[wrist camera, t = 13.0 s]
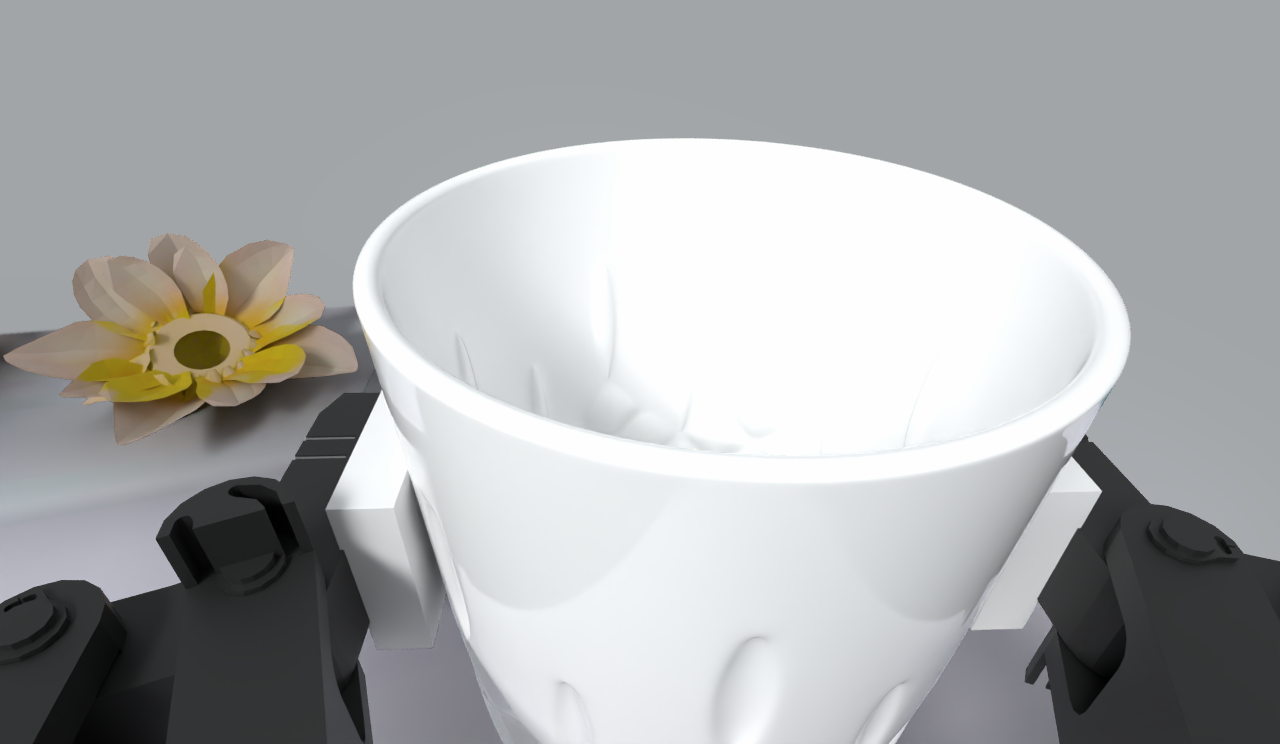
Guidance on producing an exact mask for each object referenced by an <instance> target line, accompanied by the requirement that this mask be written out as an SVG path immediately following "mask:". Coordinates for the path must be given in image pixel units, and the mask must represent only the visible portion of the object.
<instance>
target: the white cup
mask: <svg viewBox="0 0 1280 744" xmlns="http://www.w3.org/2000/svg"><path fill="white" fill-rule="evenodd" d="M353 298H354V303H355V308H356V311H357V315H358V318H359V321H360V324H361V327H362V330H363V333H364V336H365V339H366V342H367V345H368V348H369V351H370V354H371V357H372V360H373V364H374V367H375V370H376V373H377V376H378V379H379V382H380V385H381V388H382V391H383V394H384V397H385V400H386V404H387V407H388V410H389V413H390V416H391V419H392V422H393V425H394V428H395V431H396V434H397V438H398V441H399V444H400V447H401V450H402V453H403V456H404V459H405V463H406V466H407V469H408V472H409V475H410V478H411V482H412V485H413V488H414V491H415V494H416V497H417V501H418V504H419V507H420V510H421V513H422V517H423V520H424V523H425V526H426V529H427V533H428V536H429V539H430V542H431V545H432V549H433V552H434V555H435V558H436V561H437V565H438V568H439V571H440V574H441V577H442V581H443V584H444V587H445V590H446V594H447V597H448V600H449V603H450V606H451V609H452V612H453V615H454V618H455V621H456V623H457V626H458V628H459V631H460V633H461V636H462V639H463V641H464V644H465V646H466V649H467V652H468V654H469V657H470V659H471V662H472V664H473V668H474V672H475V676H476V679H477V683H478V685H479V688H480V690H481V693H482V696H483V698H484V701H485V704H486V706H487V709H488V711H489V714H490V716H491V718H492V721H493V723H494V725H495V728H496V730H497V732H498V734H499V736H500V738H501V741H502V743H503V744H895V743H896V742H897V740H898V739H899V737H900V736H901V734H902V733H903V731H904V729H905V728H906V726H907V724H908V723H909V721H910V719H911V718H912V716H913V715H914V714H915V712H916V711H917V709H918V707H919V706H920V705H921V703H922V702H923V701H924V699H925V698H926V696H927V695H928V694H929V692H930V691H931V689H932V688H933V686H934V685H935V683H936V682H937V680H938V679H939V677H940V676H941V674H942V673H943V671H944V670H945V668H946V667H947V665H948V664H949V662H950V660H951V659H952V657H953V655H954V654H955V652H956V650H957V649H958V647H959V645H960V644H961V642H962V640H963V638H964V637H965V635H966V633H967V631H968V630H969V628H970V626H971V625H972V623H973V621H974V620H975V618H976V616H977V615H978V613H979V611H980V609H981V608H982V606H983V604H984V603H985V601H986V599H987V598H988V596H989V594H990V593H991V591H992V589H993V588H994V586H995V584H996V582H997V581H998V579H999V577H1000V576H1001V574H1002V572H1003V571H1004V569H1005V567H1006V566H1007V564H1008V562H1009V560H1010V559H1011V557H1012V555H1013V554H1014V552H1015V550H1016V549H1017V547H1018V545H1019V544H1020V542H1021V540H1022V538H1023V537H1024V535H1025V533H1026V532H1027V530H1028V528H1029V527H1030V525H1031V523H1032V522H1033V520H1034V518H1035V516H1036V515H1037V513H1038V511H1039V510H1040V508H1041V506H1042V505H1043V503H1044V501H1045V500H1046V498H1047V496H1048V495H1049V493H1050V491H1051V490H1052V488H1053V486H1054V485H1055V483H1056V481H1057V480H1058V478H1059V476H1060V475H1061V473H1062V471H1063V470H1064V468H1065V466H1066V465H1067V463H1068V461H1069V460H1070V458H1071V456H1072V455H1073V453H1074V451H1075V450H1076V448H1077V446H1078V445H1079V443H1080V442H1081V440H1082V438H1083V437H1084V435H1085V433H1086V431H1087V430H1088V428H1089V427H1090V425H1091V423H1092V422H1093V420H1094V418H1095V417H1096V415H1097V413H1098V412H1099V410H1100V408H1101V407H1102V405H1103V404H1104V402H1105V400H1106V399H1107V397H1108V395H1109V394H1110V392H1111V390H1112V389H1113V387H1114V386H1115V384H1116V382H1117V381H1118V379H1119V377H1120V375H1121V373H1122V371H1123V369H1124V367H1125V364H1126V361H1127V358H1128V354H1129V349H1130V342H1131V328H1130V321H1129V317H1128V313H1127V310H1126V307H1125V305H1124V302H1123V300H1122V298H1121V296H1120V294H1119V292H1118V291H1117V289H1116V287H1115V286H1114V284H1113V283H1112V281H1111V280H1110V278H1109V277H1108V276H1107V275H1106V273H1105V272H1104V271H1103V270H1102V269H1101V268H1100V266H1098V264H1097V263H1096V262H1095V261H1094V260H1093V259H1092V258H1091V257H1090V256H1089V255H1088V254H1086V253H1085V252H1084V251H1083V250H1082V249H1081V248H1080V247H1078V246H1077V245H1076V244H1074V243H1073V242H1072V241H1071V240H1069V239H1068V238H1067V237H1065V236H1064V235H1063V234H1061V233H1059V232H1058V231H1057V230H1055V229H1053V228H1052V227H1050V226H1049V225H1047V224H1046V223H1044V222H1042V221H1041V220H1039V219H1037V218H1035V217H1034V216H1032V215H1030V214H1028V213H1026V212H1025V211H1023V210H1021V209H1019V208H1017V207H1015V206H1013V205H1011V204H1009V203H1007V202H1004V201H1002V200H1000V199H998V198H996V197H993V196H991V195H989V194H986V193H984V192H981V191H979V190H976V189H974V188H971V187H969V186H966V185H963V184H960V183H958V182H955V181H952V180H949V179H946V178H943V177H940V176H937V175H933V174H930V173H927V172H924V171H920V170H917V169H913V168H909V167H905V166H902V165H898V164H894V163H890V162H886V161H882V160H877V159H873V158H868V157H863V156H858V155H853V154H848V153H842V152H837V151H831V150H825V149H819V148H811V147H805V146H796V145H788V144H780V143H771V142H759V141H745V140H730V139H701V138H698V139H697V138H693V139H692V138H672V139H671V138H670V139H669V138H668V139H641V140H625V141H612V142H602V143H593V144H585V145H578V146H570V147H564V148H557V149H552V150H546V151H541V152H536V153H531V154H527V155H523V156H519V157H514V158H510V159H506V160H503V161H500V162H496V163H492V164H489V165H486V166H483V167H480V168H477V169H474V170H471V171H469V172H466V173H463V174H461V175H458V176H455V177H453V178H451V179H448V180H446V181H444V182H442V183H440V184H438V185H436V186H434V187H432V188H430V189H428V190H426V191H424V192H423V193H421V194H419V195H417V196H416V197H414V198H412V199H411V200H409V201H408V202H406V203H405V204H403V205H402V206H401V207H399V208H398V209H397V210H396V211H394V212H393V213H392V214H391V215H390V216H388V217H387V218H386V219H385V220H384V221H383V222H382V223H381V224H380V225H379V226H378V227H377V228H376V229H375V231H374V232H373V233H372V234H371V236H370V237H369V238H368V240H367V242H366V243H365V245H364V246H363V249H362V250H361V252H360V254H359V257H358V259H357V262H356V265H355V269H354V275H353Z"/></svg>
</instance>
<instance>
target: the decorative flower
mask: <svg viewBox="0 0 1280 744" xmlns="http://www.w3.org/2000/svg"><path fill="white" fill-rule="evenodd" d="M148 257H149V261H150V263H149V262H147V261H144V260H140V259H137V258H134V257H125V256H119V257H116V258H112V257H111V256H105V257H100V258H95V259H89V260H87V261H86V262H84V263H83V264H82V265H81V266H80V267H79V268H77V269H76V270H75V274H74V277H73V290H74V296H75V298H76V300H77V302H78V304H79V306H80V308H81V309H82V310H83V311H84V312H85V313H86V314H87V315H88V316H89V317H90V318H91V319H92V321H82V322H75V323H73V324H70V325H68V326H66V327H64V328H61V329H59V330H57V331H54V332H52V333H50V334H48V335H45V336H43V337H41V338H39V339H36V340H34V341H32V342H30V343H27V344H25V345H23V346H21V347H19V348H16V349H15V350H13V351H11V352H10V353H8V354H6V355H4V356H3V357H4V359H5V361H6V362H8V363H10V364H12V365H14V366H15V367H17V368H19V369H21V370H23V371H26V372H31V373H35V374H39V375H43V376H48V377H54V378H61V379H68V380H74V381H72V382H71V383H70V384H69V385H68V386H67V387H66V388H65V389H64V390H63V391H62V393H61V394H59V395H60V396H62V397H73V398H85V397H88V398H87V400H86V401H85V402H84V403H83V404H82V405H88V404H92V403H96V402H101V401H106V400H109V401H111V402H114V428H115V438H116V441H117V445H125V444H129V443H131V442H134V441H136V440H139V439H141V438H144V437H146V436H149V435H151V434H153V433H155V432H157V431H159V430H161V429H163V428H165V427H167V426H168V425H170V424H172V423H173V422H175V421H177V420H179V419H180V418H182V417H184V416H185V415H187V414H189V413H191V412H193V411H195V410H196V409H198V408H199V407H200V406H201V405H202V404H203V403H205V402H207V403H209V404H210V405H212V406H224V407H226V406H237V405H239V404H241V403H243V402H246V401H248V400H250V399H252V398H254V397H255V396H257V395H258V394H260V393H261V392H262V390H263V389H264V388H265V387H266V383H279V382H281V381H283V380H286V379H295V378H307V377H320V376H329V375H336V374H344V373H351V372H355V371H357V368H358V362H357V359H356V356H355V353H354V350H353V347H352V345H350V344H349V343H348V342H347V341H346V340H345V339H344V338H343V337H342V336H341V335H340V334H338V333H335V332H333V331H331V330H329V329H327V328H325V327H323V326H320V325H309V324H310V323H312V322H314V321H316V320H317V319H319V318H321V315H322V313H323V311H324V308H325V305H324V303H323V302H322V300H321V299H320V297H318V296H315V295H312V294H295V295H289V296H287V297H286V294H287V289H288V284H289V279H290V275H291V269H292V264H293V257H294V248H293V247H291V246H289V245H287V244H284V243H279V242H275V241H269V240H264V241H260V242H256V243H251V244H248V245H246V246H244V247H242V248H240V249H238V250H237V251H235V252H233V253H231V254H229V255H227V256H226V258H225V259H224V260H223V262H221V264H220V265H219V266H218V265H217V263H216V261H215V260H213V258H212V257H211V256H210V255H209V254H208V252H206V251H205V250H204V249H203V248H201V246H200V245H199V244H198V243H196V242H194V241H193V240H191V239H189V238H188V237H186V236H181V235H175V234H169V233H167V234H164V235H161V236H158V237H155V238H152V239H151V241H150V248H149V253H148ZM82 405H81V406H82Z"/></svg>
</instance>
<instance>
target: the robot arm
mask: <svg viewBox="0 0 1280 744" xmlns="http://www.w3.org/2000/svg"><path fill="white" fill-rule="evenodd" d="M306 437H307V440H306V441H303V443H302V445H301V446H300V448H299V450H298V452H297V453H296V455H295V456H296V459H295V460H292V462H291V464H290V465H289V467H288V469H287V471H286V472H285V474H284V476H283V477H282V479H281V481H280V482H279V481H277V480H275V479H270V478H262V477H248V478H240V479H233V480H229V481H226V482H223V483H220V484H218V485H215V486H212V487H209V488H207V489H204V490H203V491H201V492H199V493H198V494H196V495H194V496H193V497H191V498H189V499H188V500H186V501H185V502H183V503H181V504H180V505H179V506H178V507H177V508H176V509H175V510H174V511H173V512H172V513H171V514H170V515H169V516H168V517H167V518H166V519H165V520H164V522H163V524H162V526H161V528H160V530H159V532H158V535H157V537H156V541H157V542H158V544H159V546H160V547H161V549H162V551H163V552H164V554H165V556H166V557H167V559H168V561H169V562H170V564H171V566H172V567H173V569H174V571H175V572H176V574H177V576H178V577H179V579H180V581H181V583H178V584H175V585H172V586H169V587H165V588H162V589H158V590H154V591H150V592H147V593H143V594H139V595H136V596H132V597H128V598H125V599H121V600H117V601H114V602H110V601H109V600H108V598H107V597H106V596H105V594H104V593H103V591H102V590H101V589H100V588H99V587H97V586H95V585H93V584H91V583H89V582H87V581H85V580H60V581H56V582H53V583H49V584H45V585H41V586H37V587H33V588H31V589H29V590H27V591H25V592H23V593H21V594H18V595H16V596H14V597H12V598H10V599H8V600H6V601H4V602H2V603H1V604H0V744H373V739H372V731H371V723H370V715H369V707H368V698H367V690H366V682H365V675H364V672H363V670H362V667H361V665H360V662H359V660H358V657H359V654H360V651H361V648H362V645H363V642H364V639H365V636H366V633H367V630H368V627H369V629H370V632H371V635H372V637H373V640H374V643H375V645H376V648H377V650H392V649H422V648H433V647H434V643H435V639H436V635H437V630H438V626H439V622H440V618H441V613H442V609H443V605H444V600H445V596H446V590H445V587H444V584H443V581H442V577H441V574H440V571H439V568H438V565H437V561H436V558H435V555H434V552H433V549H432V545H431V542H430V539H429V536H428V533H427V529H426V526H425V523H424V520H423V517H422V513H421V510H420V507H419V504H418V501H417V497H416V494H415V491H414V488H413V485H412V482H411V478H410V475H409V472H408V469H407V466H406V463H405V459H404V456H403V453H402V450H401V447H400V444H399V441H398V438H397V434H396V431H395V428H394V425H393V422H392V419H391V416H390V413H389V410H388V407H387V404H386V400H385V397H384V394H383V391H381V393H344V394H343V395H341V396H340V397H339V398H338V399H336V400H335V401H334V402H333V403H332V404H330V405H329V406H328V407H327V408H325V409H324V410H323V411H322V412H321V413H319V415H318V417H317V419H316V420H315V422H314V424H313V426H312V427H311V429H310V431H309V433H308V434H307V436H306ZM1038 602H1039V603H1040V605H1041V606H1042V608H1043V609H1044V611H1045V613H1046V614H1047V616H1048V617H1049V619H1050V620H1051V622H1052V623H1053V626H1052V628H1051V629H1050V631H1049V633H1048V634H1047V636H1046V638H1045V639H1044V641H1043V642H1042V644H1041V646H1040V647H1039V649H1038V650H1037V652H1036V654H1035V655H1034V657H1033V659H1032V660H1031V662H1030V663H1029V665H1028V667H1027V668H1026V675H1025V682H1026V683H1029V684H1034V683H1035V681H1036V680H1037V678H1038V677H1039V675H1040V673H1041V672H1042V670H1043V669H1044V667H1045V666H1046V665H1047V671H1048V677H1049V681H1048V683H1047V685H1046V689H1050V690H1051V695H1052V701H1053V707H1054V713H1055V719H1056V724H1057V730H1058V736H1059V742H1060V744H1280V561H1275V560H1271V559H1266V558H1261V557H1256V556H1251V555H1247V554H1243V552H1242V551H1241V550H1240V548H1238V546H1237V545H1236V543H1235V542H1234V541H1233V540H1232V539H1230V538H1229V537H1228V536H1226V535H1225V534H1224V533H1222V532H1221V531H1220V530H1219V529H1218V528H1216V527H1215V526H1213V525H1212V524H1209V523H1208V522H1206V521H1204V520H1202V519H1200V518H1198V517H1196V516H1194V515H1192V514H1191V513H1187V512H1184V511H1181V510H1178V509H1175V508H1172V507H1169V506H1164V505H1154V504H1150V503H1149V502H1148V501H1147V499H1145V497H1144V496H1143V495H1142V494H1141V493H1140V492H1139V491H1138V490H1137V489H1136V488H1135V487H1134V486H1133V485H1132V483H1131V482H1130V481H1129V480H1128V479H1127V478H1126V477H1125V476H1124V475H1123V474H1122V473H1121V472H1120V471H1119V470H1118V469H1117V467H1115V465H1113V463H1112V462H1111V461H1110V460H1109V459H1108V458H1107V457H1106V456H1105V455H1104V454H1103V453H1102V452H1101V450H1100V449H1099V448H1098V447H1097V446H1096V445H1095V444H1094V443H1093V442H1088V437H1087V436H1086V434H1085V435H1084V437H1083V438H1082V440H1081V442H1080V443H1079V445H1078V446H1077V448H1076V450H1075V451H1074V453H1073V455H1072V456H1071V458H1070V460H1069V461H1068V463H1067V465H1066V466H1065V468H1064V470H1063V471H1062V473H1061V475H1060V476H1059V478H1058V480H1057V481H1056V483H1055V485H1054V486H1053V488H1052V490H1051V491H1050V493H1049V495H1048V496H1047V498H1046V500H1045V501H1044V503H1043V505H1042V506H1041V508H1040V510H1039V511H1038V513H1037V515H1036V516H1035V518H1034V520H1033V522H1032V523H1031V525H1030V527H1029V528H1028V530H1027V532H1026V533H1025V535H1024V537H1023V538H1022V540H1021V542H1020V544H1019V545H1018V547H1017V549H1016V550H1015V552H1014V554H1013V555H1012V557H1011V559H1010V560H1009V562H1008V564H1007V566H1006V567H1005V569H1004V571H1003V572H1002V574H1001V576H1000V577H999V579H998V581H997V582H996V584H995V586H994V588H993V589H992V591H991V593H990V594H989V596H988V598H987V599H986V601H985V603H984V604H983V606H982V608H981V609H980V611H979V613H978V615H977V616H976V618H975V620H974V621H973V623H972V625H971V626H970V629H971V630H993V629H1023V627H1024V626H1025V624H1026V622H1027V621H1028V619H1029V617H1030V615H1031V614H1032V612H1033V610H1034V608H1035V607H1036V605H1037V603H1038Z"/></svg>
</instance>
